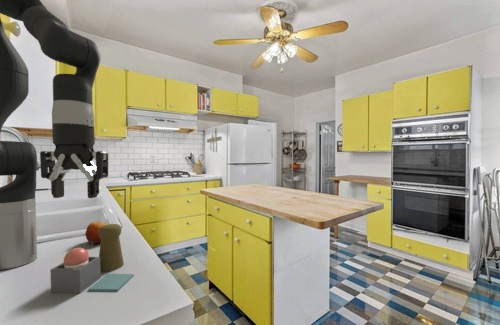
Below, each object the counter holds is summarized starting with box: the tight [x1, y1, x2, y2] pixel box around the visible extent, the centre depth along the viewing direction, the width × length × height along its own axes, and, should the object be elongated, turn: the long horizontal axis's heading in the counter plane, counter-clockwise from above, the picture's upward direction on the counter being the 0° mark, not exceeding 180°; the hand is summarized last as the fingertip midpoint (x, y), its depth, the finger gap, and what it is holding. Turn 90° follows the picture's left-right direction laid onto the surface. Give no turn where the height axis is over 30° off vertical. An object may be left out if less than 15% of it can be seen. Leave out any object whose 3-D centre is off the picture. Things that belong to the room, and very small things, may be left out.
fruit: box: [85, 221, 109, 247], centre depth 79 cm, size 8×8×8 cm
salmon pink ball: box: [63, 247, 90, 268], centre depth 53 cm, size 5×5×5 cm
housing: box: [50, 256, 102, 294], centre depth 53 cm, size 6×6×5 cm
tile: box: [87, 273, 135, 292], centre depth 54 cm, size 6×6×1 cm
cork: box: [98, 223, 125, 273], centre depth 62 cm, size 6×6×11 cm
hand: (75, 197), depth 53 cm, fingers open, 7 cm apart
